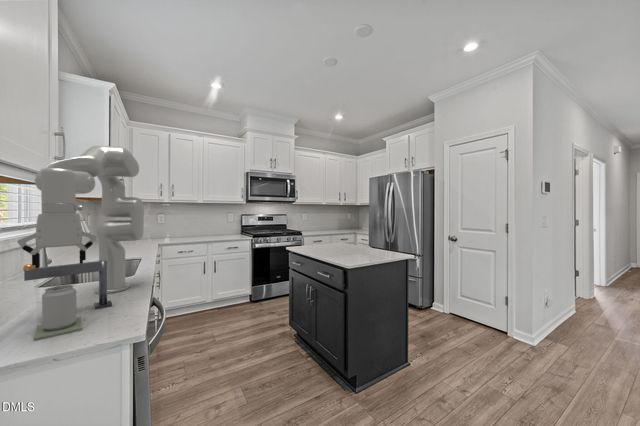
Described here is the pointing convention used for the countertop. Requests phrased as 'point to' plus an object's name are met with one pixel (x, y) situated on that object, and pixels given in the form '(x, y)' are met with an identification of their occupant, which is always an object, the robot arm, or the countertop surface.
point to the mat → (44, 333)
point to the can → (59, 307)
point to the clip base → (102, 305)
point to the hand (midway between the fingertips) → (60, 265)
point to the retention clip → (71, 273)
